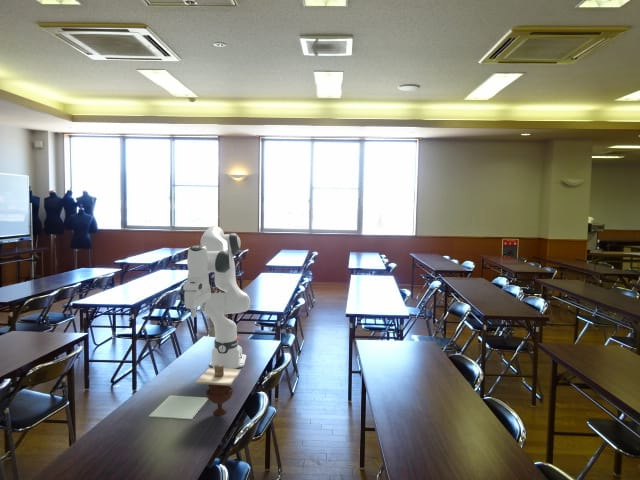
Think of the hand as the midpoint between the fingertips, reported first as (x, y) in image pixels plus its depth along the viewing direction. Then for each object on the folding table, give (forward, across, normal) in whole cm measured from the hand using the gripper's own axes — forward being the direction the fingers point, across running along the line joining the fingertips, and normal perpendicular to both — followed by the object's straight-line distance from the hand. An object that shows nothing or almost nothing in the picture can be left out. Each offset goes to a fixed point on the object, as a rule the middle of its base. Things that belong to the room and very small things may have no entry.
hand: (199, 313), depth 183 cm
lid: (+22, +14, +14) cm, 30 cm away
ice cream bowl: (+37, +14, +14) cm, 42 cm away
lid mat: (+37, +12, -4) cm, 39 cm away
